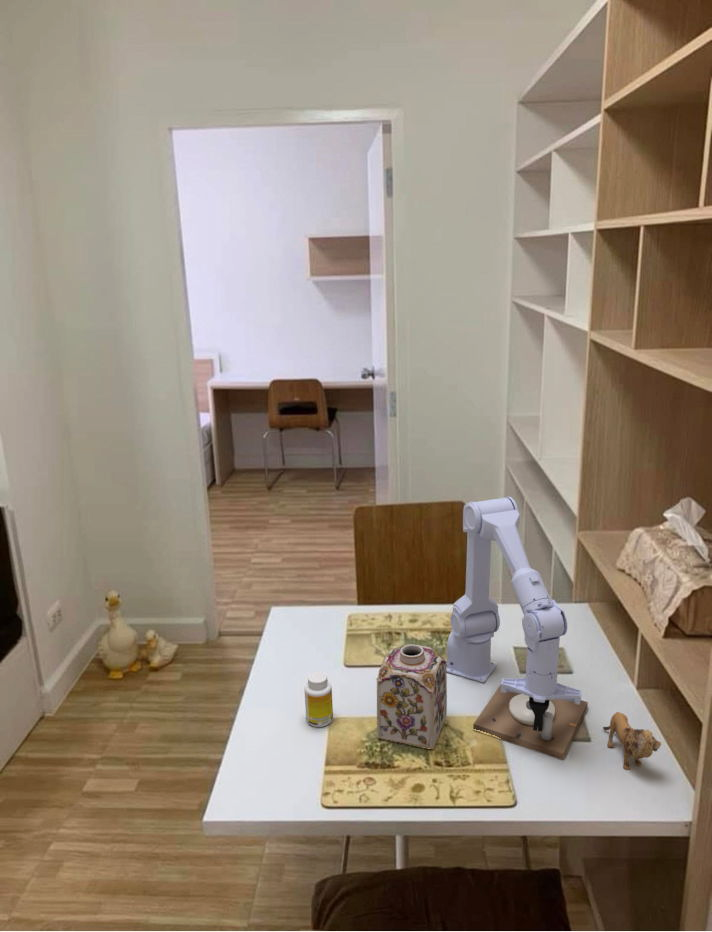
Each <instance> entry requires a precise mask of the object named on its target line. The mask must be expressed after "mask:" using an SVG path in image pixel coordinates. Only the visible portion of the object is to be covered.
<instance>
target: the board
mask: <svg viewBox="0 0 712 932" xmlns="http://www.w3.org/2000/svg"><path fill="white" fill-rule="evenodd" d="M519 694H521V693H515V692H509V691H507V693H502V692H501V684H499V685H498V687H497V688H496V690H495V692H494V693H493V695H492V696H491V698H490V699H489V701H488V702H487V704H486V705H485V706H484V708H483V710H482V711H481V712H480V714H479V715H478V717H477V718H476V720H475V721H474V722H473V727H472V729H476V730H480V731H483V732H486V733H489V734H491V735H495V736H497V737H499V738H501V739H502V740H501V739H500V740H501V741H504V742H507V743H510V744H513V745H516V746H520V747H523V748H525V749H529V750H532V751H535V752H537V753H541V754H543V755H547V756H549V757H553V758H555V759H558V760H562V761H564V759H565V757H566V754H567V753H568V750H569V748H570V746H571V744H572V742H573V740H574V738H575V736H574V735H576V734H575V733H577V732H578V729H579V727H580V726H581V723H582V721H583V720H584V716H585V715H586V712H587V710H588V706H589V702H588V701H584V700H582V699H580V705H579V704H574V702H573V701H566V700H560V699H554V700H550V701H551V702H552V703H553V705H554V707H555V716H554V719H553V721H552V738H551V739H550V740H543V739H542V738H541V733H540V732H539V731H538V728H537V731H534V730H533V726H532V725H527V724H523V723H521V722H519V721H517V720H516V719H514V718H513V717H512V716H511V714H510V711H509V703H510V701H511V699H512V698H513V697H515V696H517V695H519ZM576 731H577V732H576Z"/></svg>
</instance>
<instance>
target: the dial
mask: <svg viewBox="0 0 712 932" xmlns="http://www.w3.org/2000/svg"><path fill="white" fill-rule="evenodd" d="M509 711H510V714H511V716H512V717H513V718H514V719H516V720H517V721H519V722H521V723H523V724H527V725H532V726H534V718H535V715H534V713H533V711H532V709H531V708H530V705H529V696H527V695H524V694H519V695H517V696H515V697H513V698H512V699H511V701H510V703H509ZM554 716H555V707H554V705H553V703H552V702H551V701H549V707H548V709H547V710H546V712H545V713H544V714H543V716H542V732H540V731H539V732H540V733H541V738H542V739H543V740H550V739H551V738H552V721H553V719H554ZM537 728H538V727H537Z"/></svg>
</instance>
